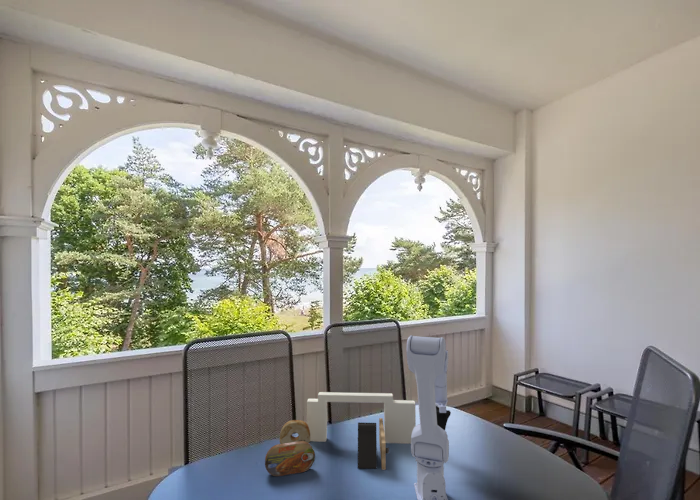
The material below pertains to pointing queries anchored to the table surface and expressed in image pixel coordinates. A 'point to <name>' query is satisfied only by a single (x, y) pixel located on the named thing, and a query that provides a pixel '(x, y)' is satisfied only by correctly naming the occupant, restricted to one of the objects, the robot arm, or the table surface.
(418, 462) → the robot arm
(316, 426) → the door frame
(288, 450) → the tin
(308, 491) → the table surface
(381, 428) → the door
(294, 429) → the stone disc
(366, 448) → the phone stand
